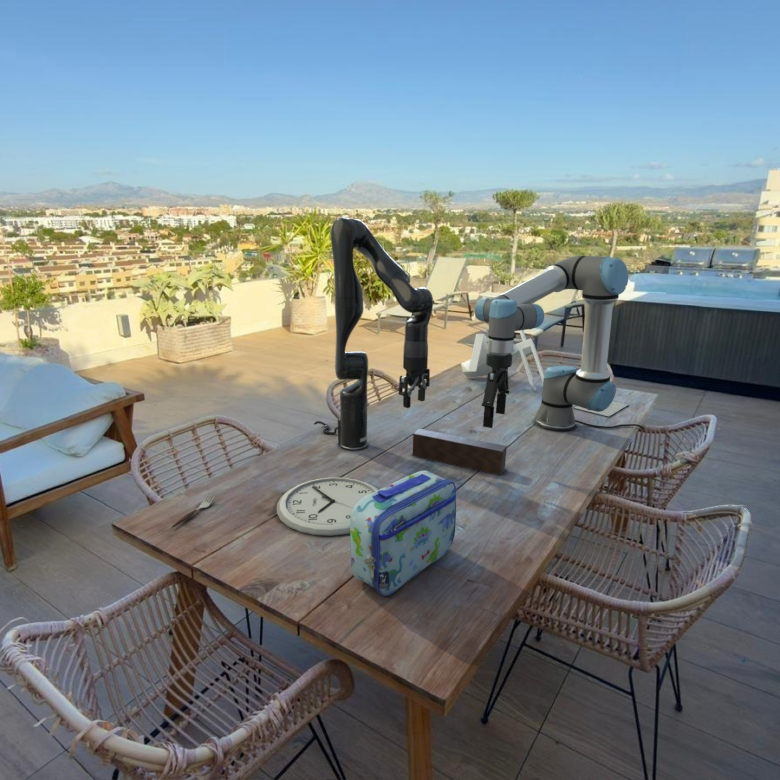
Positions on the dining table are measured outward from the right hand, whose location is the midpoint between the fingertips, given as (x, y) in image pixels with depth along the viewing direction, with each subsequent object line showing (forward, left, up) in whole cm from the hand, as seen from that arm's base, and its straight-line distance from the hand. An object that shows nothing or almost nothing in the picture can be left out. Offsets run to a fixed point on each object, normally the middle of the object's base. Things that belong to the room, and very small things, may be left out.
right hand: (494, 420), depth 161 cm
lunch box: (+22, +54, -17) cm, 61 cm away
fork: (+79, +39, -17) cm, 90 cm away
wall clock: (+44, +29, -17) cm, 56 cm away
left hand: (+25, -3, +3) cm, 25 cm away
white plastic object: (-11, -97, -17) cm, 99 cm away
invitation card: (-52, -70, -17) cm, 88 cm away
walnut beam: (+10, -4, -17) cm, 20 cm away
